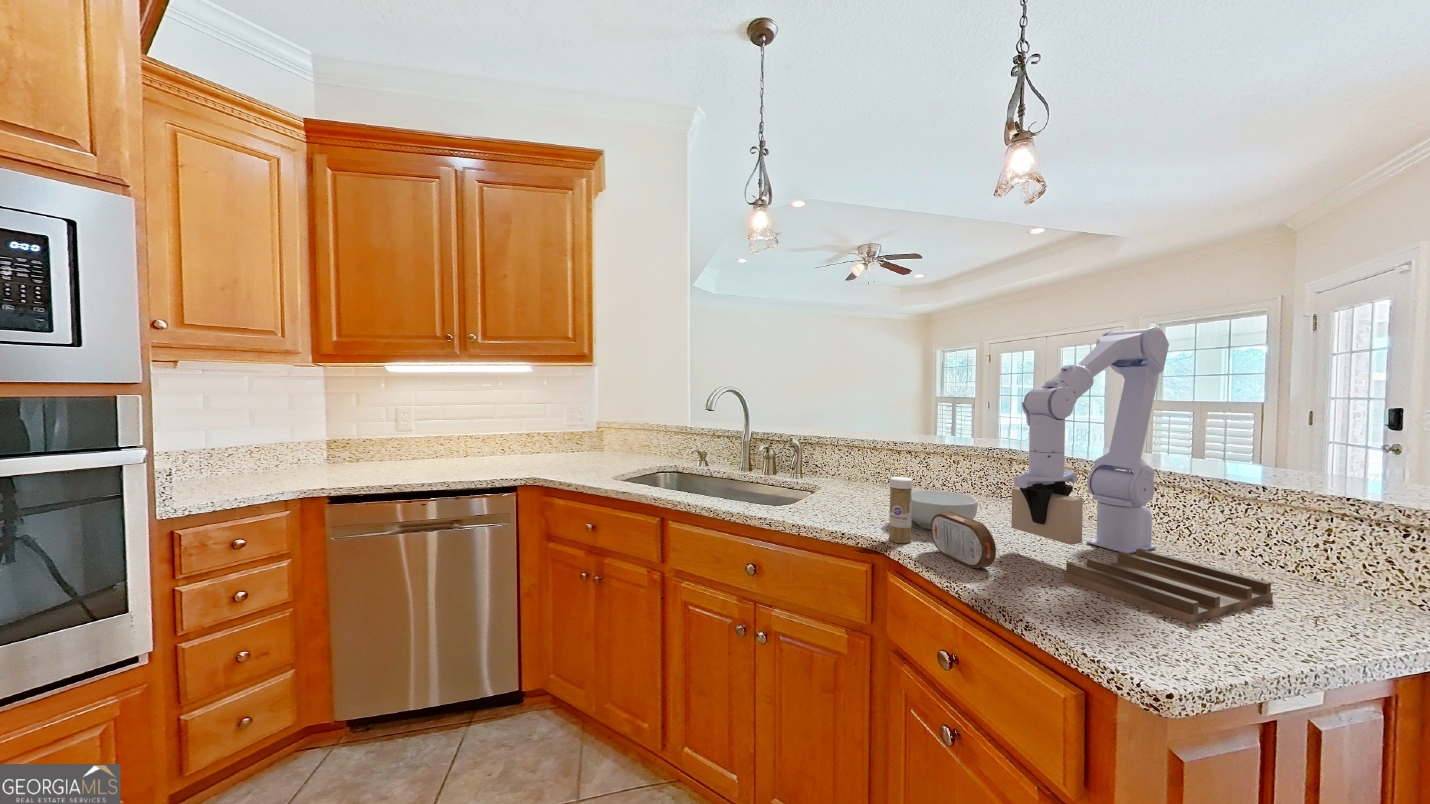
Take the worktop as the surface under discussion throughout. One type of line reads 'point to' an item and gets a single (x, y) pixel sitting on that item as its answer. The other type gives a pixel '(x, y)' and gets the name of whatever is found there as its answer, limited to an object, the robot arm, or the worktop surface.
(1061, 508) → the beige rectangular board
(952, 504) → the cereal bowl
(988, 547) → the tin
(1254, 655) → the worktop surface
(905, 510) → the sprinkles bottle
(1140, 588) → the rack
